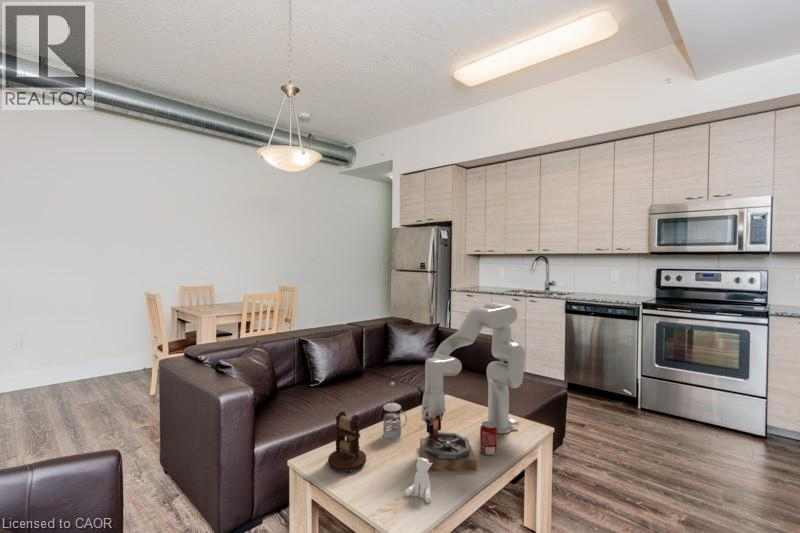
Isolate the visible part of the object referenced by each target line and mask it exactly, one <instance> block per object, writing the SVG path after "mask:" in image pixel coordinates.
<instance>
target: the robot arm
mask: <svg viewBox="0 0 800 533" xmlns="http://www.w3.org/2000/svg"><path fill="white" fill-rule="evenodd" d="M517 319H518V311H517V309H516V308H515V307H514V306H513V305H510V304H505V303H504V304H503V303H497V302H487V303H485V304H484V306H483V307H480V306H479V307H478V306H476V307H473V308H472V309H470V311H469V312H468V314H467V316H465V318H464V320H463V321H462V323H461V325H460V326H459V328H458V330H457V331H456V332H455V333H453V334H452V335H449V337H447V338H446V339H445V340H443V341H441V342H440V344H439V346H438V347H437V348H436V350H435V352H434V353H433V356H432V357H429V358H427V359H426V360H425V363H424V364H425V365H424V366H425V367H424V369H425V370H424V374H425V375H424V376H425V377H424V384H425V385H424V392H423V396H422V402H421V415H422V416H421V421H424V422H425V424H426V433H428V434H429V433H430V434H433V424H432V423H433V417H437V418H438V419H439V423H438V432H439V431H441V430H442V420H443V416H444V414H445V412H446V405H445V404H446V402H445V401H446V400H445V392H444V376H445V377H446V376H449V377H451V376H457V375H458V374H459V373H460V372H461V371H462V368H463V366H462V362H461V360H459V359H458V358H457V357H454V356H451V355H450V354H451V353H453V352H454V351H455V350H456V349H458V348H461V347H465V346H470V345H472V344H474V343H475V341H476V340H477V338H478V336H479V335H480V333H481V331H482V329H483V328H484V329H489V330H490V329H491V330H492V338H491V339H492V340H491V355H492V356H493V357H494V358H495V359H498V360H500V361H497V360H495V361H494V360H493V361H491V362H490V363H488V365H487V367H486V378H487V386H488V387H487V388H488V391H487V392H488V395H487V396H488V400H487V421H490V422H493V423H495V426H496V428H497V434H502V435H503V434H504V435H505V434H508V433H510V432H511V431H512V429H513V427H512V426H519V425H520V424H519V420H515V419H514V418H511V419H510V418H509V410H510V408H509V404H510V402H509V401H510V390H509V388H511V389H517V388H519V387H520V386H521V385H522V383H523V380H524V372H525V371H524V370H525V358H526V354H525V349H524V347H523V346H522V344H520V343H518V342H515V341H512V327H511V325H512V324H513V323H515V321H517ZM502 361H503V362H502ZM506 362H507V363H506ZM429 418H430V420H429Z"/></svg>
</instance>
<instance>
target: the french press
mask: <svg viewBox="0 0 800 533" xmlns="http://www.w3.org/2000/svg"><path fill="white" fill-rule="evenodd" d="M390 386H391V387H392V388H391V397H392V398H391V402H388V403H386V404H384V405H383V410H384V411H386V412H387V413H385V414H384V416H383V424H382V425H383V428H382V430H383V434H382V435H381V436H380V438H382V439H383V440H384V441H383V440H382V439H381V440H382V441H383V442H385V441H386V443H391V442H394V443H398V442H400V440H401V439H402V436H403V435H402V428H404V427H405V426H406V425H407V422H408V416H407V413H406V412H405V411H404V410H401V409H402V406H401V404H398V403H397V402H393V396H394V393H393V392H394V391H393V390H394V389H393V388H394V387H393V386H395V382H393V381H391V382H390ZM398 411H399V413H396V412H398ZM401 413H402V415H403V416H404V417H405V423H404V424H402V425H401ZM402 440H403V439H402ZM402 440H401V441H402Z"/></svg>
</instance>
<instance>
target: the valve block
mask: <svg viewBox="0 0 800 533" xmlns="http://www.w3.org/2000/svg"><path fill="white" fill-rule="evenodd" d="M463 437H464V438H466V439H468V437H466V436H463ZM440 439H442V440H445V439H448V440H451V441H452V440H454V439H453V438H440ZM419 440H420V441H419V442H420V443H419V447H420V452H421V458H424V459H427V460H428V461H429V463H432V465H431V467H429V470H428V471H427V472H455V471H457V472H459V471H461V472H462V471H478V458H477V456H476V455H475V454H476V453H475V452H474V450H473V448H472V446H471V444H470V442H469V445H470V453H469V454H467V455H464V456H462V457H460V458H458V459H451V458H439V457H436V456H435V455H433V454H431V453H430V452H428V451H426V450H425V443H426V437H420V439H419ZM440 445H442V444H441V443H439V442H437V441H436V440H433V441H431V442H430V446H431V447H433V448H436V447H438V446H440ZM453 446H455V447H457V448H458V449H460V450H462V449H464V448H465V444H464V443H462V442H457V443H455V444H453ZM440 452H455V451H454V450H452V449H451V450H444V449H442V450H440ZM455 453H456V452H455Z"/></svg>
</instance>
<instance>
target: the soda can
mask: <svg viewBox="0 0 800 533" xmlns="http://www.w3.org/2000/svg"><path fill="white" fill-rule="evenodd" d="M479 430H480V431H479V451H480V452H481V454H483V455H485V456H493V455H495V454H496V453H497V451H498V450H497V449H498V448H497V445H498V444H497V443H498V439H497V438H498V433H497V428H496V426H495V423H493V422H490V421H488V420H486V421H485V420H484V421H482V422H481V425H480V428H479Z"/></svg>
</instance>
